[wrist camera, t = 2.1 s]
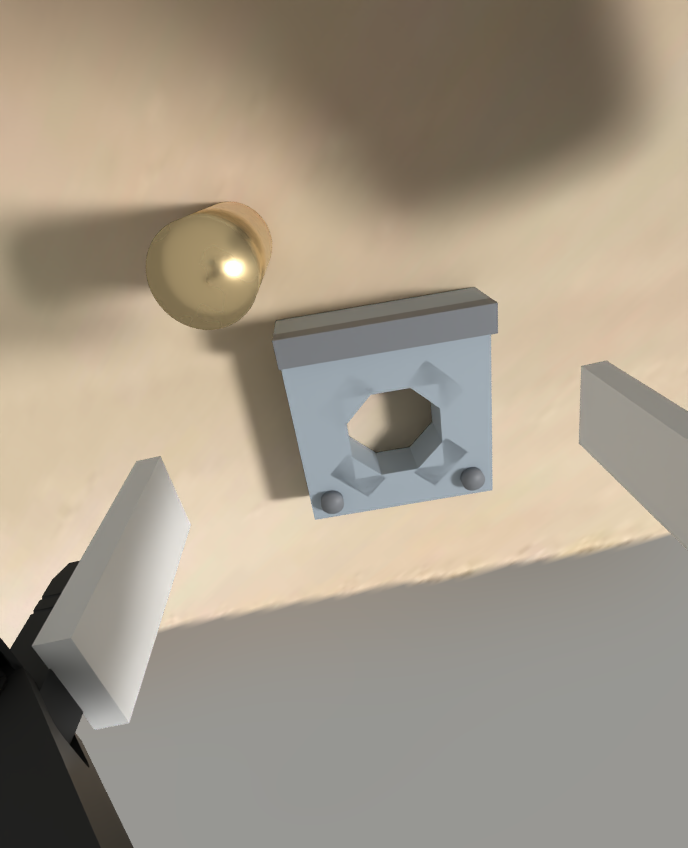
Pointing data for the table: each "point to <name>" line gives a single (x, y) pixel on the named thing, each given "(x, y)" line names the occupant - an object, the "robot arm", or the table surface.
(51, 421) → the table surface
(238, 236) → the brass cylinder
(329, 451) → the jig
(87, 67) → the table surface
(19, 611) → the table surface
